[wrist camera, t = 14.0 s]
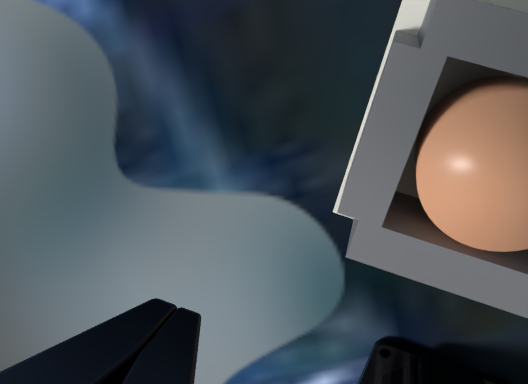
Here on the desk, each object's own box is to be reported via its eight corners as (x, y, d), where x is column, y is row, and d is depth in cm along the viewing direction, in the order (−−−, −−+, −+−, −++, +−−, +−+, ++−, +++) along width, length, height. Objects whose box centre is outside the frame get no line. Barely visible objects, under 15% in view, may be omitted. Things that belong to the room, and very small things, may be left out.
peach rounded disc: (533, 236, 17) (552, 273, 15) (394, 193, 18) (393, 222, 16) (609, 101, 15) (643, 121, 13) (447, 57, 16) (454, 69, 13)
